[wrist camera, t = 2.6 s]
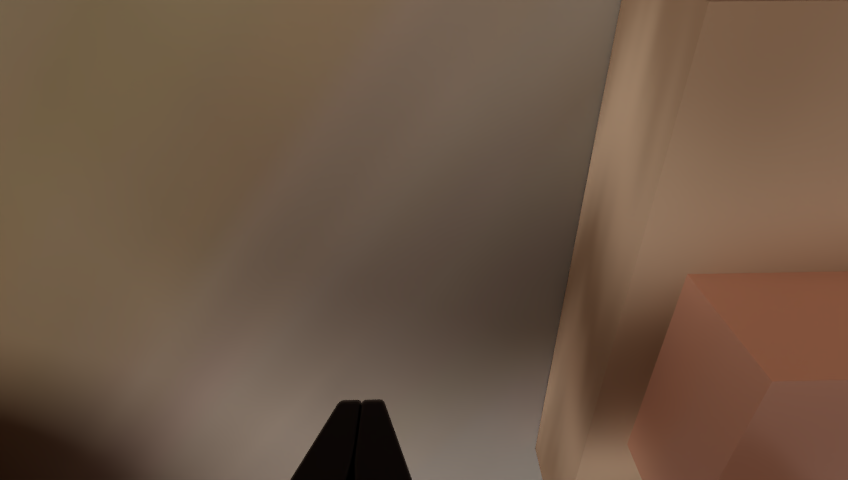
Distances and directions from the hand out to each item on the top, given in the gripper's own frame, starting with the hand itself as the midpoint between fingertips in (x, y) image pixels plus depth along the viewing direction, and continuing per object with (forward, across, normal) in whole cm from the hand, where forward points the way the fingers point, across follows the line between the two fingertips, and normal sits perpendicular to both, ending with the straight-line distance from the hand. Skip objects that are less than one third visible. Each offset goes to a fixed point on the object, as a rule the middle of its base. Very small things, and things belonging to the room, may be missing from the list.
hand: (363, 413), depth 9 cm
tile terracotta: (+1, -8, 0) cm, 9 cm away
